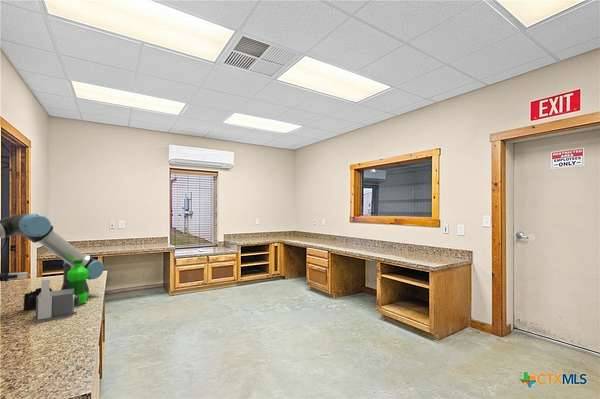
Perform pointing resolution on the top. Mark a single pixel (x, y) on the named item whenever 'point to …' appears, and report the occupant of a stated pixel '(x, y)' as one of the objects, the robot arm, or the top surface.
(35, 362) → the top surface
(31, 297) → the camera
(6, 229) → the robot arm
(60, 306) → the housing
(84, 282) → the plastic bottle
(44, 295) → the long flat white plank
